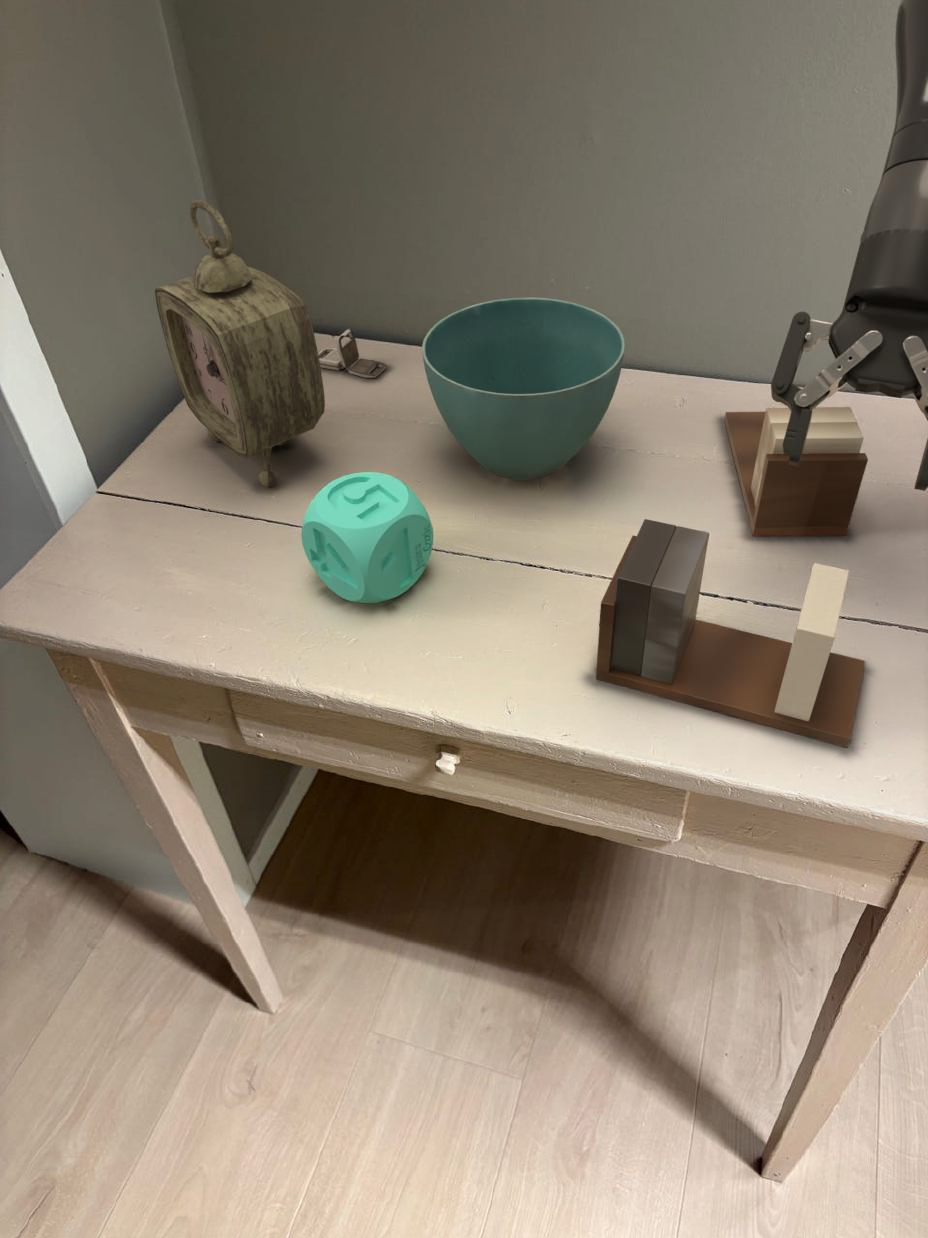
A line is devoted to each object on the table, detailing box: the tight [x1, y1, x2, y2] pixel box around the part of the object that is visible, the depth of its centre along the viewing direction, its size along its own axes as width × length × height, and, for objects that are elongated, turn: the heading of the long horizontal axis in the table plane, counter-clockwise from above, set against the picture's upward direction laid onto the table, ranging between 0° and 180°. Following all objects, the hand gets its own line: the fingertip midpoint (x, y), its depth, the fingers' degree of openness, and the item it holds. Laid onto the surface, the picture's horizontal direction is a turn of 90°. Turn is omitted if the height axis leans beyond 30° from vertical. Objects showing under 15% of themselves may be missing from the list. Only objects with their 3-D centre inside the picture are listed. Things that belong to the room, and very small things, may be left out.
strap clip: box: [318, 328, 387, 379], centre depth 108 cm, size 8×3×4 cm, turn 63°
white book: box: [774, 562, 850, 721], centre depth 67 cm, size 2×7×8 cm, turn 157°
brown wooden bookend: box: [595, 518, 866, 748], centre depth 69 cm, size 18×8×10 cm, turn 67°
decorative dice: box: [300, 471, 434, 604], centre depth 80 cm, size 8×8×8 cm
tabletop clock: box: [154, 199, 326, 487], centre depth 89 cm, size 14×9×25 cm, turn 38°
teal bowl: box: [421, 297, 626, 481], centre depth 91 cm, size 18×18×12 cm
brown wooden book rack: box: [724, 406, 869, 537], centre depth 87 cm, size 19×8×10 cm, turn 177°
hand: (856, 475), depth 67 cm, fingers open, 8 cm apart
